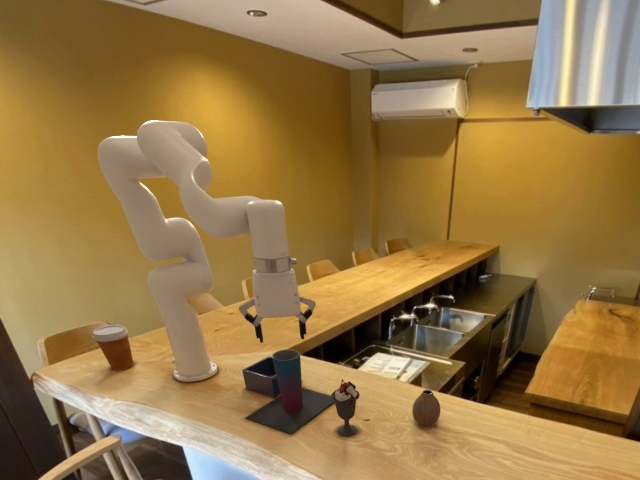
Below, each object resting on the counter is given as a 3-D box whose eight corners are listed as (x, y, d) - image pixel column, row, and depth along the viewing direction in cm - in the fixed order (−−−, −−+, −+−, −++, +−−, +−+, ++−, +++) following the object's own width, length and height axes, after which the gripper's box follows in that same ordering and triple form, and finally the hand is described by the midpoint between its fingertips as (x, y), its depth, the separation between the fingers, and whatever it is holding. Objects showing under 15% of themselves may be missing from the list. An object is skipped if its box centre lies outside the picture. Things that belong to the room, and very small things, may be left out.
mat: (245, 418, 108) (245, 417, 107) (296, 387, 122) (296, 385, 122) (291, 434, 101) (290, 433, 101) (338, 399, 116) (338, 398, 116)
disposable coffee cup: (120, 374, 129) (106, 337, 123) (98, 369, 132) (83, 332, 126) (146, 362, 137) (133, 326, 130) (124, 358, 140) (111, 322, 133)
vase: (442, 418, 108) (444, 387, 103) (435, 432, 102) (438, 400, 97) (416, 413, 109) (417, 383, 105) (408, 427, 104) (409, 396, 99)
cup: (300, 415, 108) (293, 361, 100) (276, 412, 109) (267, 359, 101) (310, 402, 114) (304, 350, 105) (286, 399, 115) (278, 348, 107)
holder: (245, 388, 121) (241, 369, 118) (272, 374, 129) (269, 356, 126) (274, 397, 117) (271, 378, 113) (300, 382, 125) (297, 363, 121)
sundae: (340, 441, 99) (335, 385, 90) (329, 428, 104) (324, 372, 95) (365, 434, 101) (363, 378, 93) (354, 421, 106) (351, 367, 98)
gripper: (310, 259, 96) (315, 330, 106) (231, 262, 93) (245, 336, 102) (314, 266, 91) (320, 341, 100) (230, 270, 87) (244, 348, 96)
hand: (282, 338), depth 101 cm, fingers open, 9 cm apart
